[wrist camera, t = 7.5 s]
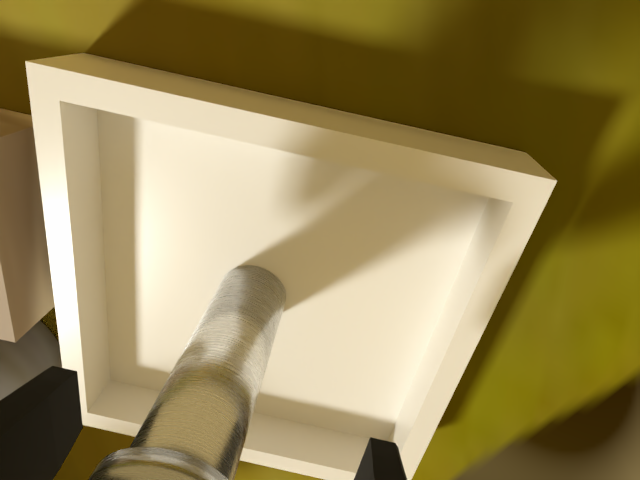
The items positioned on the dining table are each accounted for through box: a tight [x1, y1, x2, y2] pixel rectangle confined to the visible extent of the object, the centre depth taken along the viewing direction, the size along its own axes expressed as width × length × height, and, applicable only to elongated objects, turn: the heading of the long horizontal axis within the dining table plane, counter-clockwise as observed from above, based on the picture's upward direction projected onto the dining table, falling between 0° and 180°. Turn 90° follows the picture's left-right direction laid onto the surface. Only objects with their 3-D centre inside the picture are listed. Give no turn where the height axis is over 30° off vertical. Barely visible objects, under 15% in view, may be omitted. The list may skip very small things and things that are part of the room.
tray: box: [25, 53, 557, 480], centre depth 15 cm, size 14×14×2 cm
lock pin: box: [88, 265, 286, 480], centre depth 12 cm, size 3×3×8 cm
